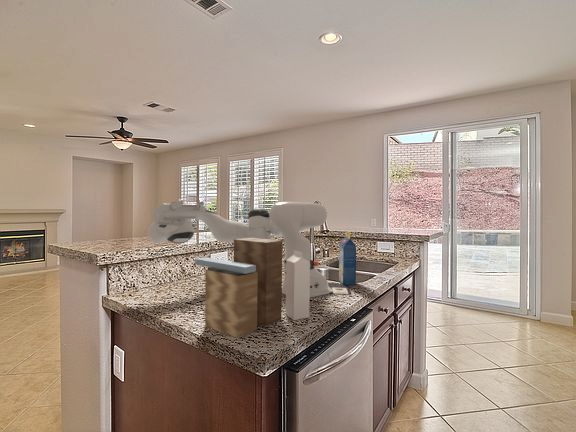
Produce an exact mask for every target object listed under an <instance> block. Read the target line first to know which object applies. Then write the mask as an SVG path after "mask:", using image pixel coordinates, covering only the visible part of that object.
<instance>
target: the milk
mask: <svg viewBox="0 0 576 432" xmlns="http://www.w3.org/2000/svg"><path fill="white" fill-rule="evenodd" d="M309 296H310V261H308V260H306V259H305V258H303V253H302V252H299V251H295V250H294V255H293V256H291V257H290V258H289V259H287V260H286V295H285V315H286V316H287V317H289V318H290V319H292V320H294V321H296V320H301V319H308V318H310V298H309Z"/></svg>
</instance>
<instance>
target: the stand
mask: <svg viewBox="0 0 576 432" xmlns="http://www.w3.org/2000/svg"><path fill="white" fill-rule="evenodd" d="M233 262H239V263H246V264H252V265H256V271H255V272H258V288H257V326H261V327H263V328H264V327H265V328H267V327H269V326H271V325H273V324H275V323H277V322H279V321H281V320H282V311H283V310H282V305H283V304H282V303H283V302H282V299H283V297H282V296H283V293H282V286H283V240H279V239H260V238H242V239H234V243H233Z"/></svg>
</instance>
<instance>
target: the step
mask: <svg viewBox="0 0 576 432" xmlns="http://www.w3.org/2000/svg"><path fill="white" fill-rule="evenodd" d="M204 273H205V284H204V286H205V294H204V295H205V298H204V299H205V303H204V309H205V310H204V312H205V314H204V319H205V321H204V324H205V325H204V327H205V328H209V329H211V330H214V331H217V332H220V333H223V334H225V335H228V336H231V337H234V338H237V339H240V338H241V337H244V336H246V335H248V334H250V333H252V332H254V331H256V330H258V325H257V288H258V272H251V273H247V274H244V273H238V272H233V271H227V270H222V269H216V268H211V267H207V269H206V270H205V272H204Z"/></svg>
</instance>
